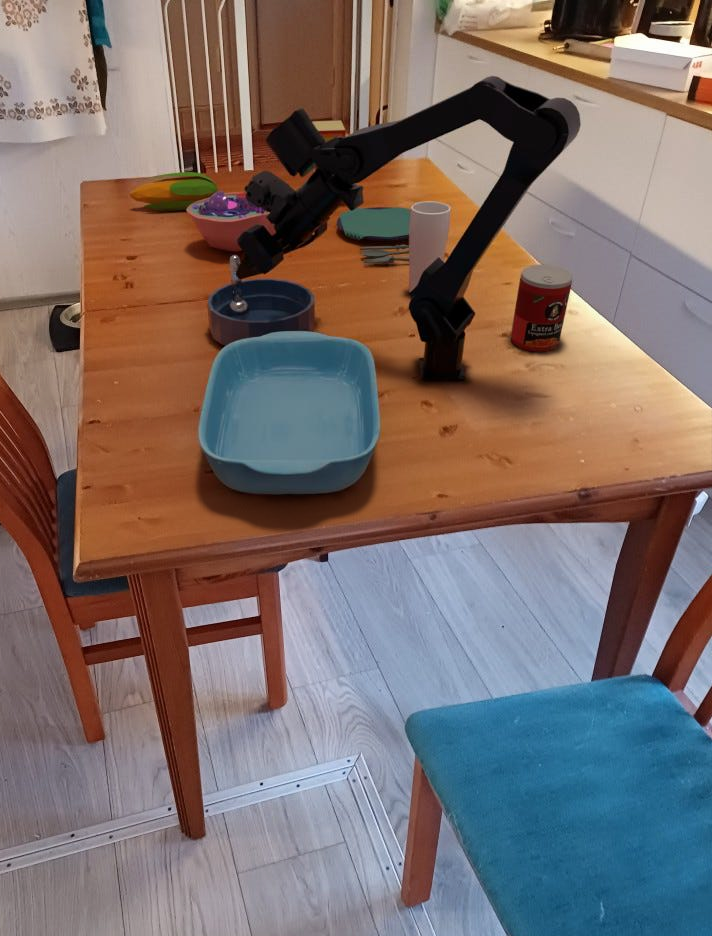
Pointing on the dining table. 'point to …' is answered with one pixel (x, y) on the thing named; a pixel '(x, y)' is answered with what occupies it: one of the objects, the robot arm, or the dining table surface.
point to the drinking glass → (426, 237)
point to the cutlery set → (377, 230)
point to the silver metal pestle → (237, 294)
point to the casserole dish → (290, 413)
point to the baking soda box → (329, 131)
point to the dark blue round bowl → (262, 310)
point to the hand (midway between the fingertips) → (253, 266)
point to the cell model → (227, 219)
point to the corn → (175, 191)
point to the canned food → (540, 307)
